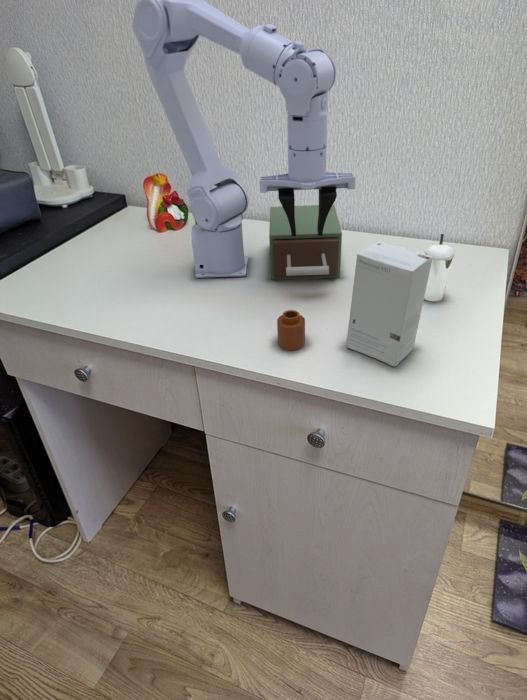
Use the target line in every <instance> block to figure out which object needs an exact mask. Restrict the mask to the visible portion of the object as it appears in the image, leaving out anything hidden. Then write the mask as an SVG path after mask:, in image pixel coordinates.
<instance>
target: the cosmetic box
mask: <svg viewBox="0 0 527 700" xmlns="http://www.w3.org/2000/svg"><path fill="white" fill-rule="evenodd" d="M432 259H433V258H432V257H431V256H428V255H425V253H421V252H417V251H415V250H411V249H409V248H406V247H404V246H399V245H398V246H397V245H393V244H389V243H386V242H382V241H378V240H377V241H376V242H374V243H372V244H371V245H369V246H367V247H366V248H364V249H363V250H360V251H359V252H357V254H356V262H355V268H354V269H355V271H354V277H353V286H352V295H351V302H350V310H349V320H348V329H347V337H346V347H347V348H348V349H350V350H353V351H356V352H358V353H361V354H363V355H366V356H368V357H371V358H374V359H376V360H378V361H380V362H382V363H385V364H387V365H389V366H391V367H397V365H398V364H400V363H401V362H402V361H403V360H404V359H405V358H406V357H407V356H408V355H409V354H410V353H411V352H412V351H414V348H415V342H416V337H417V333H418V329H419V323H420V319H421V314H422V310H423V306H424V300H425V299H424V296H425V291H426V287H427V282H428V277H429V273H430V268H431V263H432Z"/></svg>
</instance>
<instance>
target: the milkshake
mask: <svg viewBox="0 0 527 700" xmlns="http://www.w3.org/2000/svg"><path fill="white" fill-rule="evenodd" d="M444 237H445V233H442V232H441V233H440V237H439V243H438V244H437V243H436V244H431V245H429V246H428V247H427V248H425V250H424V255H428V256H431V257H432V258H433V259H432V263H431V268H430V273H429V277H428V282H427V287H426V291H425V296H424V300H425V301H427V302H431V303H432V302H433V303H434V302H440V301H441V300H443V297H444V294H445V293H444V292H445V289H446V285H447V283H448V278H449V274H450V271H451V268H452V265H453V262H454V259H455V256H456V251H455V249H454V248H453V247H452V246H450V245H447V244H444Z"/></svg>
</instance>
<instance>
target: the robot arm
mask: <svg viewBox="0 0 527 700" xmlns="http://www.w3.org/2000/svg"><path fill="white" fill-rule="evenodd" d="M131 28H132V30H133V32H134V34H135V37H136V39H137V41H138V44H139V47H140V49H141V51H142V53H143V56H144V61H145V67H146V71H147V73H148V76H149V78H150V81H151V83H152V85H153V88H154V90H155V92H156V94H157V97H158V99H159V102H160V104H161V106H162V108H163V111H164V113H165V115H166V118H167V120H168V122H169V125H170V127H171V129H172V133H173V134H174V136H175V139H176V141H177V144H178V146H179V148H180V151H181V153H182V156H183V157H184V160H185V162H186V164H187V167H188V169H189V171H190V173H191V176H192V178H191V181H190V183H189V185H188V187H187V190H186V194H187V197H188V199H189V202H190V212H191V215H192V217H193V220H194V221H195V223H196V224H193V225H192V226H191V248H192V255H193V262H194V270H195V278H199V279H200V278H201V279H202V278H233V277H236V278H237V277H246V276H247V269H248V263H249V257H248V256H245V249H244V235H243V222H242V221H243V220H244V213H245V212H247V210H248V207H249V204H250V201H249V195H248V192H247V190H246V188H245V187H244V186H243V185H242V184H241V182H240V181H239V180H238V178H237V176H236V174H235V172H234V171H233V170H231V168H228V167H227V166H225V165H223V164H222V162H221V160H220V157H219V154H218V152H217V150H216V147H215V145H214V143H213V140H212V138H211V135H210V133H209V130H208V127H207V125H206V123H205V120H204V117H203V115H202V113H201V110H200V108H199V106H198V103H197V100H196V97H195V95H194V93H193V90H192V88H191V86H190V83H189V81H188V78H187V76H186V73H185V70H184V69H185V66H186V62H187V60H189V59H188V58H189V57H190V55H191V54H192V52H193V50H194V49H195V46H196V45H197V44H198V41H199V39H200V37H203V38H205V39H206V40H209V41H211V42H213V43H215V44H217V45H219V46H221V47H223V48H225V49H228V50H230V51H232V52H234V53H235V54H237V55H240V58H241V63H242V65H243V67H244V68H245V69H246V70H248V71H250V72H252V73H254V75H257V76H259V77H261V78H262V79H264V80H266V81H268V82H269V83H271V84H272V85H275V86H277V87H278V89H279V92H280V93H281V95H282V96H283V98H284V101H285V111H287V114H286V115H287V117H286V118H287V173H282V174H275V175H267V176H265V175H264V176H259V193H260V194H266V193H268V192H277V194H278V195H277V196H278V201H279V203H280V205H281V207H283V209H284V211H285V213H286V215H287V218H288V221H289V224H290V228H291V235H292V237H294V236H296V226H295V206H296V205H295V191H309V190H318V205H319V213H318V224H317V232H318V236H322V235H323V229H324V225H325V221H326V219H327V216H328V213H329V211H330V209H331V207H332V205H334V203H335V202H336V199H337V197H338V196H337V195H338V192H337V189H346V190H355V189H356V174H355V173H354V172H332V171H331V172H330V171H327V149H328V148H327V145H328V106H329V105H328V104H329V92H330V91H331V90H332V88H333V86H334V84H335V82H336V77H337V70H336V65H335V62H334V61H333V58H332V57H331V56H330V55H329V54H328V53H326V52H325V50H324V49H322V48H314V49H310V50H308V51H307V49H306V48H305V43H304V42H302V41H301V40H296V41H295V40H294V41H293V40H291V39H288V38H287V37H285V36H283V35H281V34H279V33H277V31H278V27H277V26H275V25H273V24H271V23H267V24H264V25H261V24H259V25H257V26H255V27H253V28H251V29H249V28H248V27H247V26H245V25H244V24H241V23H240V22H238V21H237V20H235V19H233V18H232V17H230V16H229V15H227V14H226V13H224V12H222V11H221V10H219V9H218V8H216V7H215V6H213V5H211V4H209V3H208V2H207V1H206V0H136V3H135V5H134V12H133V18H132V24H131ZM213 186H214V188H212V187H213Z"/></svg>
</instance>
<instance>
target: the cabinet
mask: <svg viewBox="0 0 527 700" xmlns="http://www.w3.org/2000/svg"><path fill="white" fill-rule="evenodd" d="M269 209H270V210H269V228H268V229H269V231H268V232H269V233H268V235H269V236H268V237H269V238H268V239H269V241H268V242H269V259H270V260H269V262H270V263H269V265H270V280H272V281H273V280H277V281H278V280H305V279H308V280H309V279H339V278H341V263H342V261H341V260H342V243H343V242H342V241H343V239H342V238H343V232H342V228H341V224H340V220H339V217H338V213H337V209H336V206H335V204H333V205H332V207H331V209H330V211H329V213H328V216H327V219H326V221H325V225H324V229H323V235H322V236H318V232H317V224H318V213H319V204H315V205H295V226H296V236H294V237H292V235H291V228H290V224H289V221H288V218H287V215H286V213H285V211H284V209H283V207H282V206H270V207H269ZM329 237H334V238H338V239H339V252H338V274H337V276H326V277H293V278H274V262H273V240H277V239H300V238H329Z"/></svg>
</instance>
